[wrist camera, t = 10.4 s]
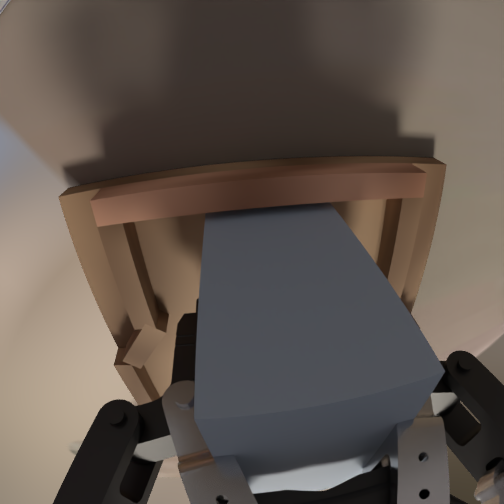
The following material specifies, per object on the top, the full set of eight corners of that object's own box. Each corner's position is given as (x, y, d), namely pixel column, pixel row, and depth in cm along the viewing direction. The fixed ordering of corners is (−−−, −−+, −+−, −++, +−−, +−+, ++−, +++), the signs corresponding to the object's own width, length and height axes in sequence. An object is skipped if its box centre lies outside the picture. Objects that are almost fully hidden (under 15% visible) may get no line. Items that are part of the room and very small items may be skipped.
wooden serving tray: (433, 157, 12) (463, 174, 10) (365, 403, 22) (373, 424, 21) (68, 187, 11) (44, 209, 9) (172, 427, 22) (171, 450, 20)
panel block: (327, 199, 11) (445, 371, 5) (316, 331, 15) (363, 479, 8) (205, 209, 11) (194, 419, 4) (226, 342, 15) (237, 501, 8)
